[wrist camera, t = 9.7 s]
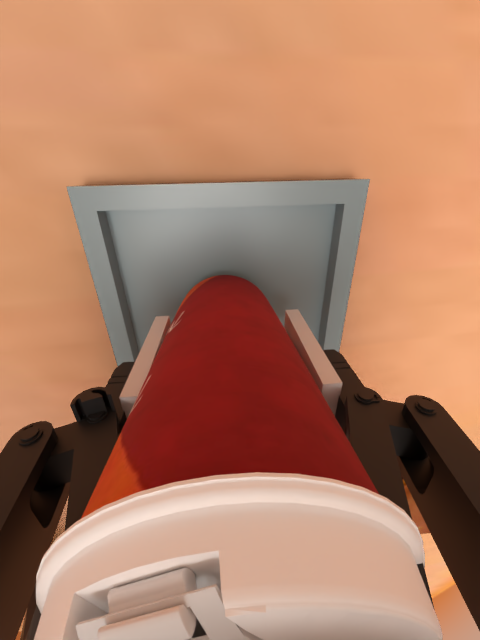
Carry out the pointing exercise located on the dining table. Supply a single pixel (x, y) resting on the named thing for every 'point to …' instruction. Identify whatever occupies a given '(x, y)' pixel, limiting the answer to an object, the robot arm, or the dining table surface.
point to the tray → (220, 248)
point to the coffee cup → (234, 504)
